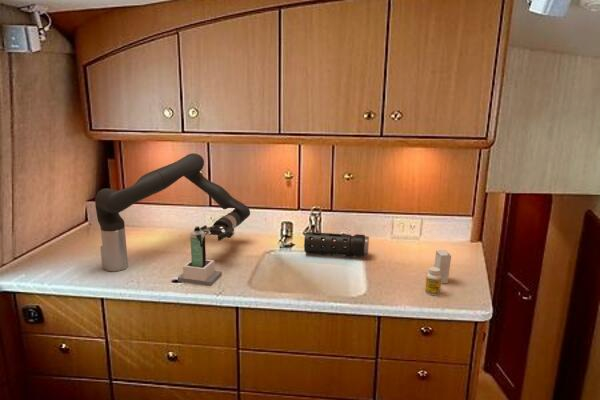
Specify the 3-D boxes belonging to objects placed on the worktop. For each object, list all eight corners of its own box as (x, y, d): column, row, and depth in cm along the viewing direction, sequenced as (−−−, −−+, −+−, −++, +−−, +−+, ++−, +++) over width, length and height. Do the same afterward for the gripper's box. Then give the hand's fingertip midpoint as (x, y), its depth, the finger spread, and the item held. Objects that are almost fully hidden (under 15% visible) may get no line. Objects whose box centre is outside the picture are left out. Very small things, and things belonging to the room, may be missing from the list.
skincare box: (432, 277, 198) (434, 249, 195) (443, 277, 198) (445, 249, 195) (437, 284, 192) (440, 255, 189) (448, 283, 193) (451, 254, 189)
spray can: (209, 274, 194) (207, 226, 189) (198, 279, 191) (195, 230, 185) (200, 271, 198) (198, 223, 193) (189, 275, 194) (187, 226, 189)
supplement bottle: (439, 290, 187) (441, 266, 185) (440, 296, 182) (443, 272, 179) (424, 289, 188) (426, 265, 185) (425, 295, 183) (427, 271, 180)
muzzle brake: (306, 249, 227) (307, 228, 224) (368, 253, 223) (369, 232, 220) (303, 257, 218) (304, 235, 215) (367, 261, 214) (368, 239, 211)
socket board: (177, 281, 192) (176, 265, 190) (190, 271, 202) (189, 256, 200) (210, 285, 188) (210, 270, 187) (221, 275, 198) (221, 260, 196)
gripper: (209, 215, 216) (192, 227, 201) (240, 218, 212) (224, 230, 197) (210, 231, 218) (193, 244, 203) (240, 235, 214) (225, 247, 199)
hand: (208, 237), depth 200 cm, fingers open, 8 cm apart
